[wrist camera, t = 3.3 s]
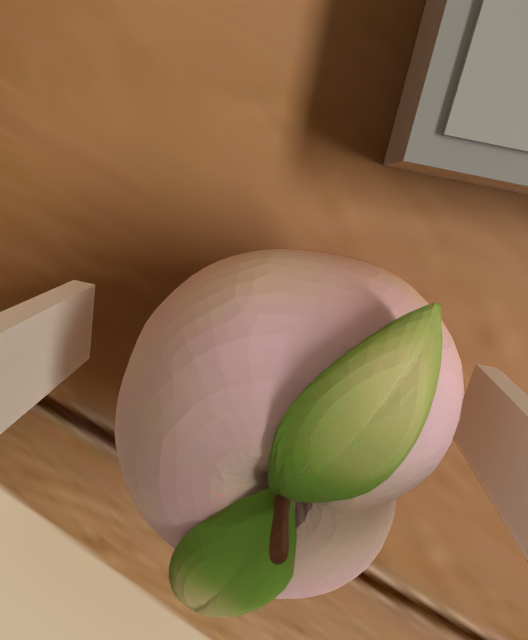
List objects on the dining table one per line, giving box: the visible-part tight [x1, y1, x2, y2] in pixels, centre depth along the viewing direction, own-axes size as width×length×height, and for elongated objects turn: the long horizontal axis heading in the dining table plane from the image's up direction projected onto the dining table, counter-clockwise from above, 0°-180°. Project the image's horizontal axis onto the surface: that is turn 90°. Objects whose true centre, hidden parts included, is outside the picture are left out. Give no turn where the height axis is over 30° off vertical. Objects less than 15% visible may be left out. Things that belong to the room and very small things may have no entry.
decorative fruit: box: [115, 249, 464, 617], centre depth 12 cm, size 9×8×10 cm
